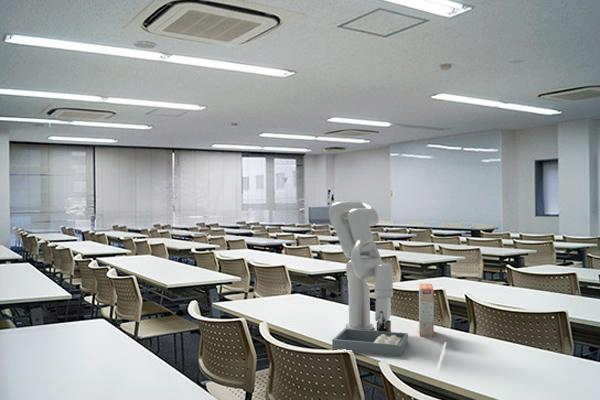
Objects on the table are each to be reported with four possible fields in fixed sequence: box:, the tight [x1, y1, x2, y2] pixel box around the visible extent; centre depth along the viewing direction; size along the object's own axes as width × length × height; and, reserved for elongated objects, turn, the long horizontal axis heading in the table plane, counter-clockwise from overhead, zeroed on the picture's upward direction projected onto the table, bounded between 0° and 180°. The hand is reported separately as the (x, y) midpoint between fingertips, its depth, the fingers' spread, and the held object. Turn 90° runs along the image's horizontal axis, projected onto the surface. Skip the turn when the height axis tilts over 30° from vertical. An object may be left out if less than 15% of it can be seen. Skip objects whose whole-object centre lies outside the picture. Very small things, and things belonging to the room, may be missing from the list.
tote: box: [331, 328, 409, 358], centre depth 204 cm, size 18×26×5 cm
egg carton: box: [374, 334, 401, 345], centre depth 202 cm, size 11×9×4 cm
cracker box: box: [418, 283, 435, 339], centre depth 225 cm, size 14×6×21 cm, turn 168°
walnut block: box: [376, 320, 392, 332], centre depth 220 cm, size 5×5×7 cm
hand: (383, 335), depth 220 cm, fingers closed on walnut block, 5 cm apart
